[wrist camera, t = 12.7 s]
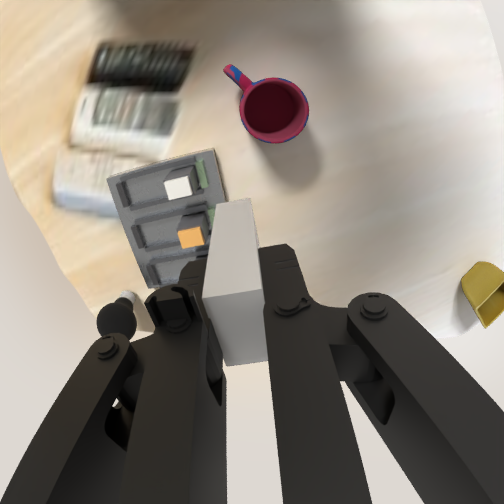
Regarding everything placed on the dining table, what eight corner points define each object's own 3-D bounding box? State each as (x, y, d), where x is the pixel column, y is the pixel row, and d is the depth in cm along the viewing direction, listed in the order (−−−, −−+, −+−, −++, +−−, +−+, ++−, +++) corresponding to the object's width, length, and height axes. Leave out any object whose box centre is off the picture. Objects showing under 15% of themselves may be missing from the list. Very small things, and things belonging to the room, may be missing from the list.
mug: (263, 145, 35) (268, 156, 29) (209, 83, 31) (203, 80, 25) (307, 113, 33) (322, 118, 27) (255, 50, 29) (259, 39, 23)
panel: (110, 175, 36) (104, 180, 34) (213, 147, 35) (212, 151, 33) (150, 282, 44) (147, 291, 42) (241, 266, 43) (242, 275, 41)
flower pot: (463, 301, 50) (485, 330, 42) (450, 280, 47) (475, 310, 39) (491, 272, 47) (516, 298, 39) (480, 248, 44) (509, 274, 36)
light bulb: (109, 276, 43) (86, 319, 34) (144, 279, 43) (126, 323, 35) (116, 306, 46) (97, 349, 37) (149, 309, 46) (134, 354, 38)
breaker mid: (181, 216, 37) (175, 232, 33) (204, 212, 37) (200, 226, 33) (186, 233, 38) (181, 250, 34) (209, 229, 38) (206, 245, 34)
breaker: (170, 171, 34) (161, 181, 30) (194, 165, 34) (188, 175, 30) (175, 189, 35) (167, 202, 32) (199, 184, 35) (194, 196, 31)
